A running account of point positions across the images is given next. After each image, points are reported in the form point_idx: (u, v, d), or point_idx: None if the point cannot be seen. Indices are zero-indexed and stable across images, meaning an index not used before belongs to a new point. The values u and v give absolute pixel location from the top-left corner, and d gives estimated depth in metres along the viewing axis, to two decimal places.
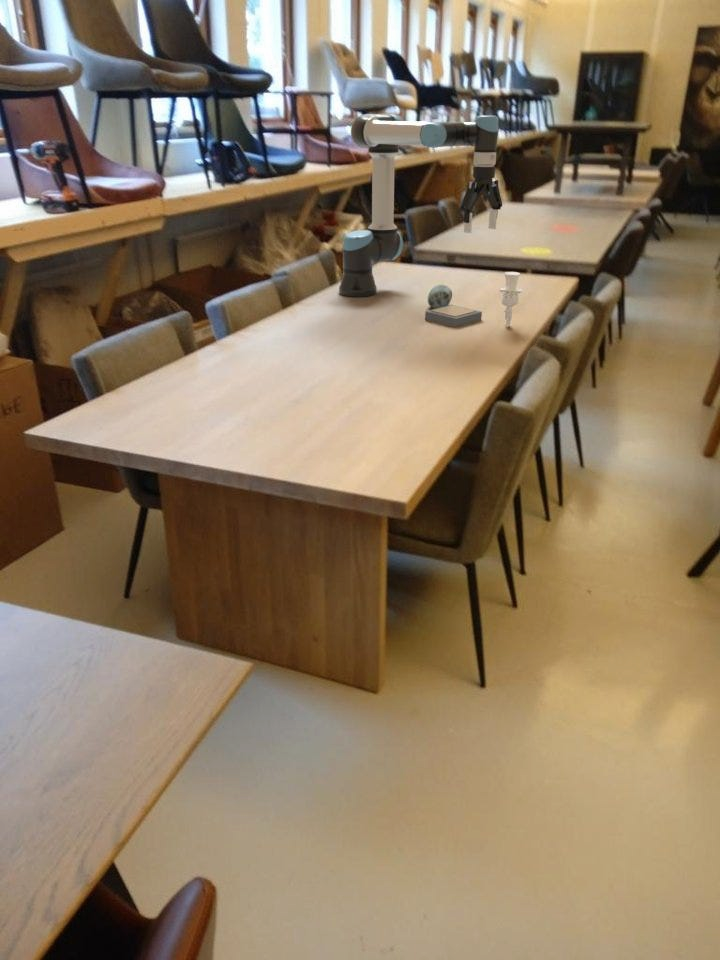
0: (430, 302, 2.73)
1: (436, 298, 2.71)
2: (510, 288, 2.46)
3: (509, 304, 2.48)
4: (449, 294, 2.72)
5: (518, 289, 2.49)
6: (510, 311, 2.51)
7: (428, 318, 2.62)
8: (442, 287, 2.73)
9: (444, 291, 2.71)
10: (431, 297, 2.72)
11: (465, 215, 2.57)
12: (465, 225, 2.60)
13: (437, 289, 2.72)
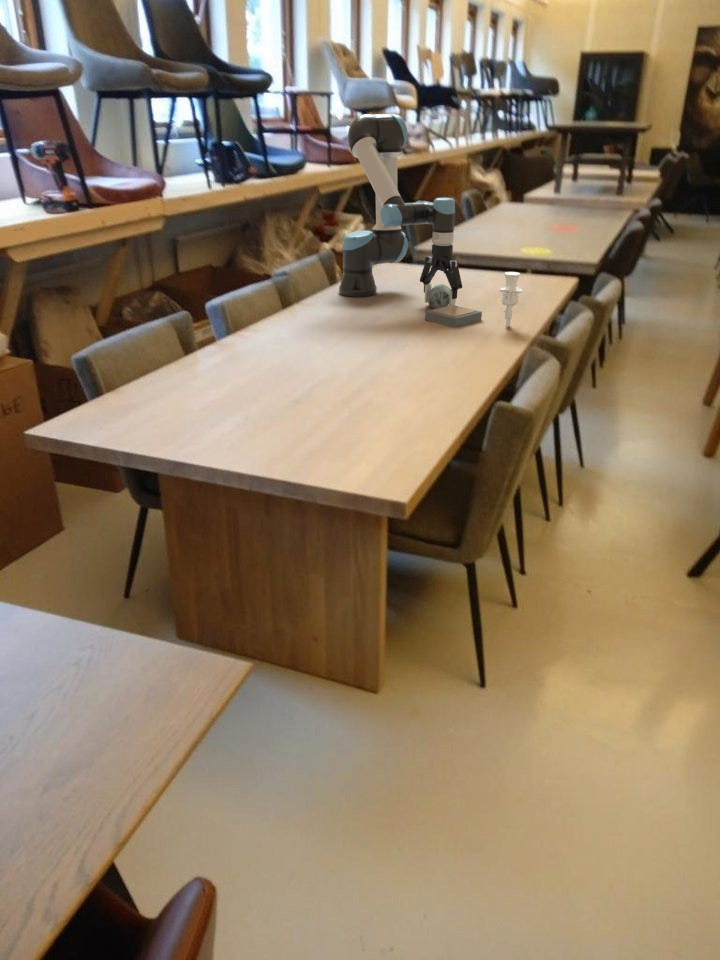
0: (430, 302, 2.73)
1: (436, 298, 2.71)
2: (510, 288, 2.46)
3: (509, 304, 2.48)
4: (449, 294, 2.72)
5: (518, 289, 2.49)
6: (510, 311, 2.51)
7: (428, 318, 2.62)
8: (442, 287, 2.73)
9: (444, 291, 2.71)
10: (431, 297, 2.72)
11: None
12: None
13: (437, 289, 2.72)
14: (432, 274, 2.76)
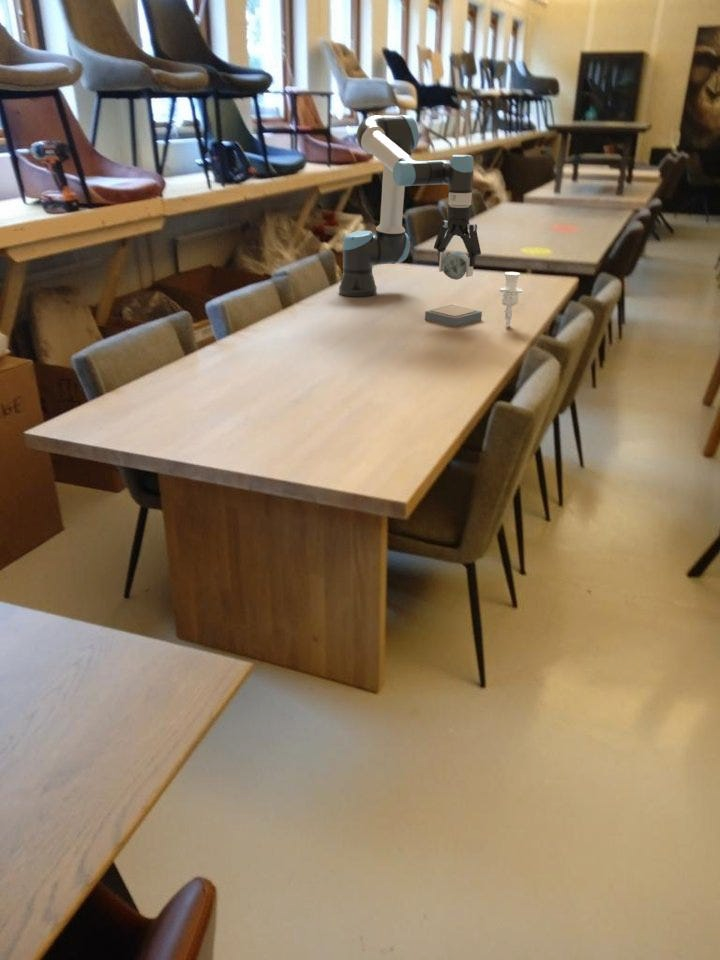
0: (445, 270, 2.51)
1: (452, 265, 2.48)
2: (510, 288, 2.46)
3: (509, 304, 2.48)
4: (466, 261, 2.50)
5: (518, 289, 2.49)
6: (510, 311, 2.51)
7: (428, 318, 2.62)
8: (458, 253, 2.51)
9: (461, 258, 2.49)
10: (446, 264, 2.49)
11: None
12: None
13: (453, 255, 2.49)
14: (448, 240, 2.53)
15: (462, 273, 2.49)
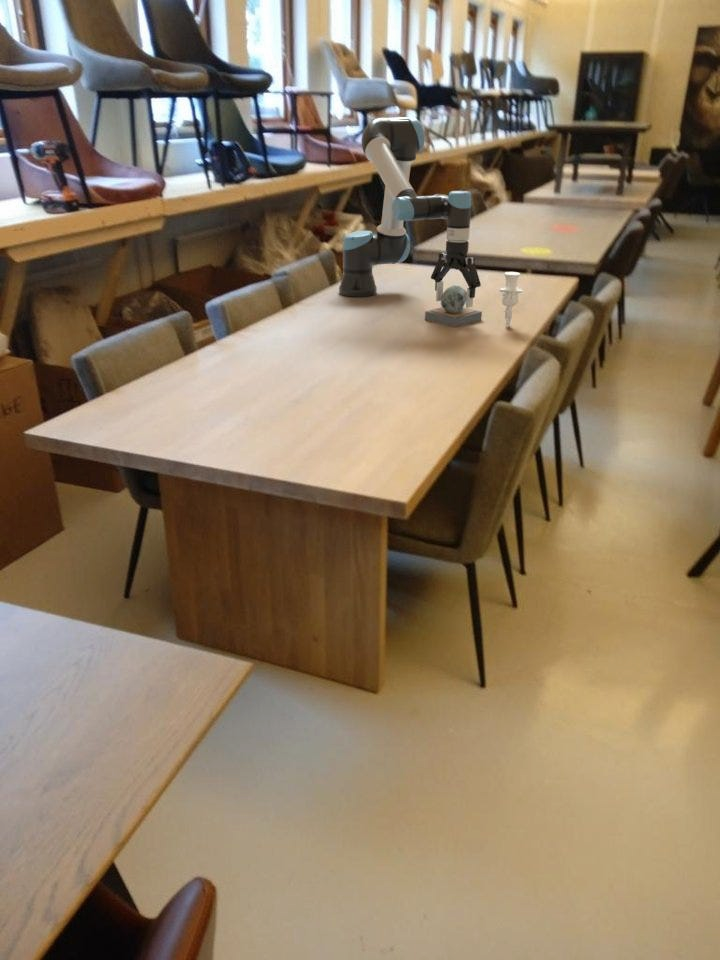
0: (443, 304, 2.56)
1: (450, 300, 2.53)
2: (510, 288, 2.46)
3: (509, 304, 2.48)
4: (464, 296, 2.55)
5: (518, 289, 2.49)
6: (510, 311, 2.51)
7: (428, 318, 2.62)
8: (456, 288, 2.56)
9: (458, 292, 2.54)
10: (444, 299, 2.54)
11: None
12: None
13: (451, 290, 2.55)
14: (445, 272, 2.58)
15: (460, 307, 2.55)
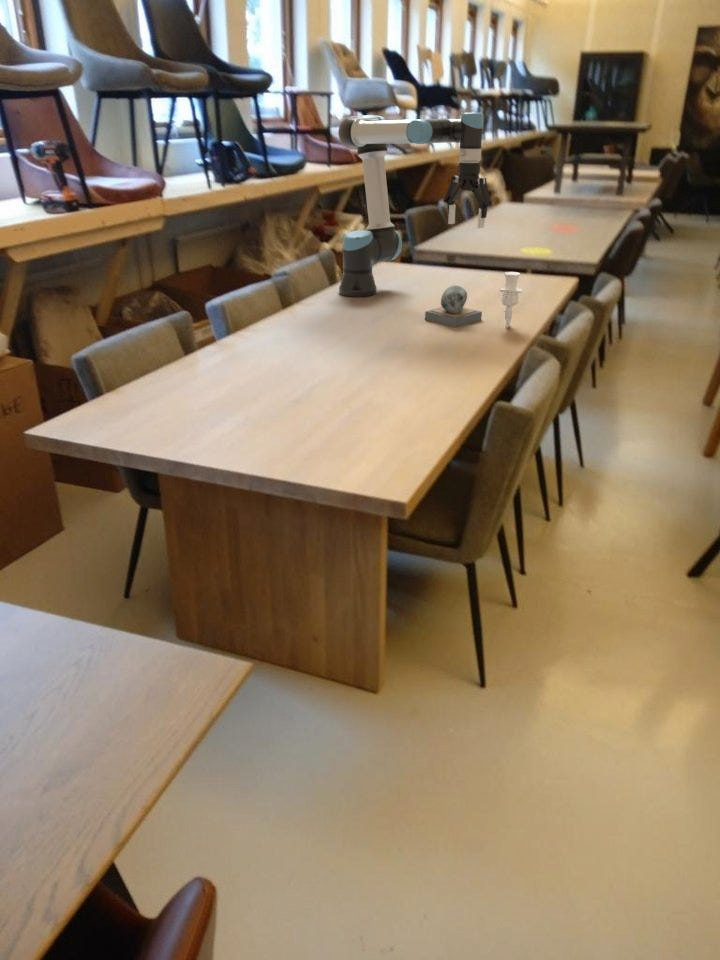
0: (443, 304, 2.56)
1: (450, 300, 2.53)
2: (510, 288, 2.46)
3: (509, 304, 2.48)
4: (464, 296, 2.55)
5: (518, 289, 2.49)
6: (510, 311, 2.51)
7: (428, 318, 2.62)
8: (456, 288, 2.56)
9: (458, 292, 2.54)
10: (444, 299, 2.54)
11: None
12: None
13: (451, 290, 2.55)
14: (457, 194, 2.67)
15: (460, 307, 2.55)
